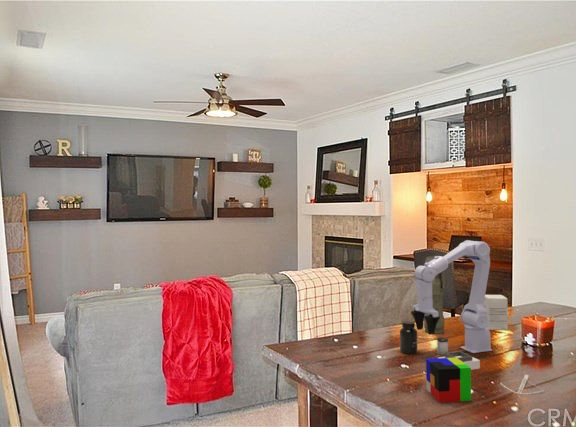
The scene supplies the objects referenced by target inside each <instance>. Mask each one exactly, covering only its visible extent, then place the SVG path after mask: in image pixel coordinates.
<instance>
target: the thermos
mask: <svg viewBox="0 0 576 427" xmlns="http://www.w3.org/2000/svg"><path fill="white" fill-rule="evenodd" d="M435 256H436V255H429V256H426V257H425V261H424V264H425V263H426V262H427V263H428V262H430V261H431V260H433V259H434V257H435ZM446 273H447V272H446V269H445V270H444V271H442V272H440V273H439V274H437V275H436V276H435V278H434V280H433V281H432V301H433V309H435V310H436V311H438V316H440V319H439V320H438V322H437V325H436V328H435V332H434V334H433V335H442V334H445V317H444V299H443V298H444V294H445V291H446V287H447V286H446V285H447V282H446V281H447V280H446V277H447V276H446ZM425 316H429V314H426V313H425ZM423 327H424V333H425V334H428V328H427V322H426V320H425V317H424V322H423Z"/></svg>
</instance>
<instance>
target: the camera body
mask: <svg viewBox="0 0 576 427" xmlns="http://www.w3.org/2000/svg"><path fill="white" fill-rule="evenodd" d="M455 357H456V358H458V359H459V360H461V361H462V362H463V363H465V364H466V365H467V366H469V367H470V368H471V371H474V370H479V369H481V362H480V361H481V360H480V359H478V358H475V357H474V356H472V355H469V354H468V353H465V352H463V351H461V350H459V351H451V352H448V353H445V356H440V357H437V358H455Z"/></svg>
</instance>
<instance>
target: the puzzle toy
mask: <svg viewBox="0 0 576 427" xmlns="http://www.w3.org/2000/svg"><path fill="white" fill-rule="evenodd" d="M425 368H426V369H425V371H426V373H425V374H426V379H425V380H426V381H425V382H426V391H427V390H428V391H429V392H430V393H431V396H432V397H433V398H434V399H435V400H436V401H437V402H438V403H453V402H466V401H467V402H472V370H471V368H470V367H469V366H467V365H466V364H465V363H463V362H462V361H461V360H459V359H458V358H456V357H455V358H438V357H437V358H435V357H434V358H426V359H425ZM428 391H427V392H428ZM429 392H428V393H429ZM430 393H429V394H430Z"/></svg>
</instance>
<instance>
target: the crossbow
mask: <svg viewBox="0 0 576 427" xmlns="http://www.w3.org/2000/svg"><path fill="white" fill-rule="evenodd" d="M529 378H530V375H529V374H524V377H523V378H522V379H521V383H520V386H519V387H518V389H517V391H515V390H512V389H510V388H508V387H507V386H506V385H504V384H503V383H505V381H503V382H500V383H499V384H500V386H502V387H503V388H504V389H507V391H509V392H512V393H514V394H516V395H526V396H529V395H538V394H544V393H545V390H544V389H542V388H540V387H539V386H537V385H536V384H534V383H532V382H530V381H529ZM515 381H516V382H517V381H518V379H515V380H514V382H515ZM510 382H512V380H510V381H508V383H510ZM527 382H528V383H530V384H532V385H533V386H535V387H537V388H538V389H540V390H539V391H535V392H527V393H526V392H523V391H524V389H525V387H526V385H527Z"/></svg>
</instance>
